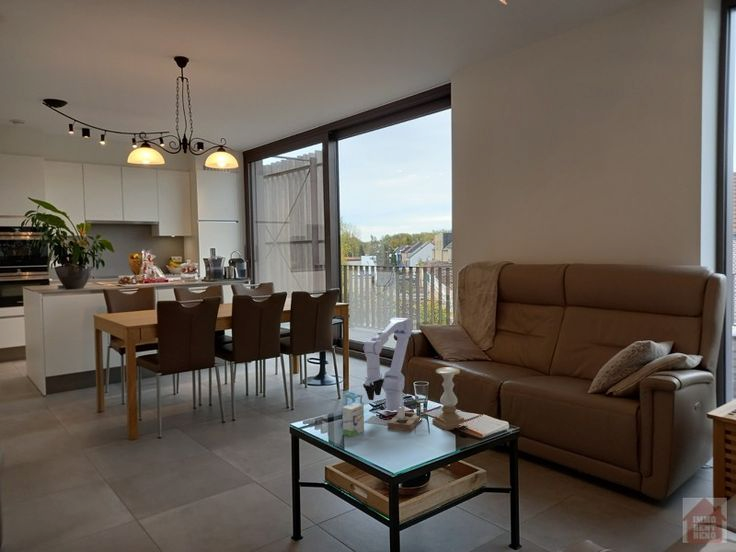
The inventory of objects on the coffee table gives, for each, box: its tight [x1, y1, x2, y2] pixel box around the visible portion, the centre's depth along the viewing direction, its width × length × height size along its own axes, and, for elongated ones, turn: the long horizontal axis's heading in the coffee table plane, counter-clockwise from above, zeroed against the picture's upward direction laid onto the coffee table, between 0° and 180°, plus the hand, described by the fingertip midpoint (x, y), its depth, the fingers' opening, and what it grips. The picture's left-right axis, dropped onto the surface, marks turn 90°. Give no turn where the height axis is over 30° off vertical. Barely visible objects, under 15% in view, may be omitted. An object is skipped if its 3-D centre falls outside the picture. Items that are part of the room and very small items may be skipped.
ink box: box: [342, 403, 365, 438], centre depth 222 cm, size 9×5×12 cm, turn 143°
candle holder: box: [432, 366, 467, 431], centre depth 227 cm, size 11×11×24 cm
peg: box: [397, 405, 406, 423], centre depth 226 cm, size 3×3×9 cm
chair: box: [341, 391, 365, 419], centre depth 241 cm, size 8×8×12 cm
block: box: [386, 411, 420, 433], centre depth 230 cm, size 16×10×3 cm, turn 156°
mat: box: [364, 415, 390, 426], centre depth 236 cm, size 10×10×1 cm
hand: (374, 397), depth 237 cm, fingers open, 7 cm apart
